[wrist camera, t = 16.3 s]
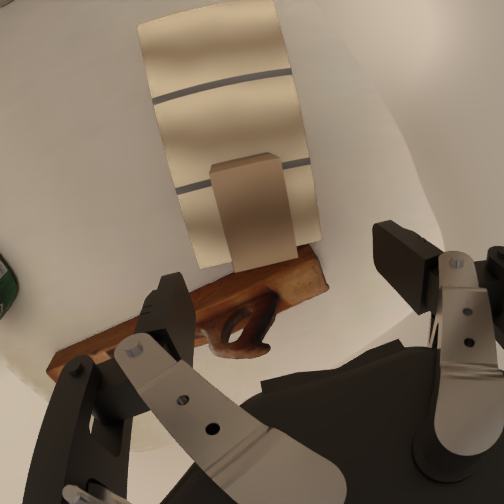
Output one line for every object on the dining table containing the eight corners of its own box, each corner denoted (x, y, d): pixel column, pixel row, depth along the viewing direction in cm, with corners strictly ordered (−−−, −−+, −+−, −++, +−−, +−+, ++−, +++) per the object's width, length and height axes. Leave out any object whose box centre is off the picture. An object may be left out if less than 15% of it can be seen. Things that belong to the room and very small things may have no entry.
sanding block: (211, 164, 22) (208, 173, 17) (267, 151, 22) (280, 157, 17) (232, 245, 25) (235, 272, 20) (283, 233, 25) (298, 257, 20)
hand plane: (298, 223, 26) (338, 274, 17) (319, 268, 29) (359, 329, 19) (55, 351, 30) (26, 406, 21) (81, 377, 32) (59, 433, 23)
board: (141, 30, 18) (137, 25, 16) (268, 3, 18) (271, -4, 16) (200, 262, 27) (199, 269, 25) (316, 234, 27) (321, 240, 25)
